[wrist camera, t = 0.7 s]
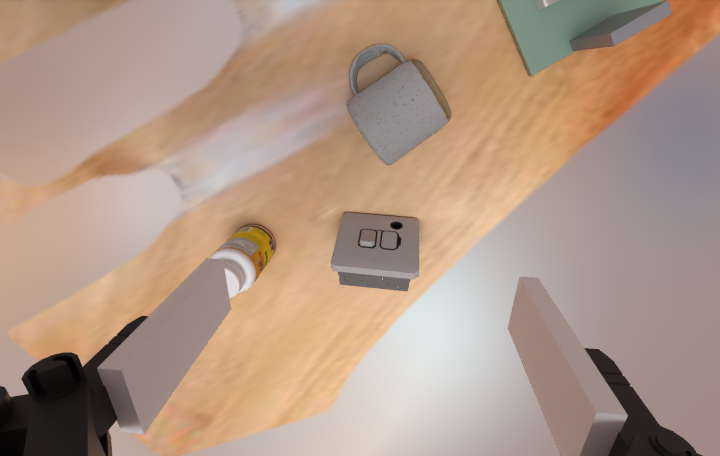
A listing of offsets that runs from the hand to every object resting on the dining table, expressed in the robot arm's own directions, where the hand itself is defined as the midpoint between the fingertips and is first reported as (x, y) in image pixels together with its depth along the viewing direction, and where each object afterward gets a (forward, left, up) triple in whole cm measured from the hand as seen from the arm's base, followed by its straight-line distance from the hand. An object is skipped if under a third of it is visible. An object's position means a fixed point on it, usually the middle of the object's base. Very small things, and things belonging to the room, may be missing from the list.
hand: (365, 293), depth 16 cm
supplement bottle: (+1, -21, -28) cm, 35 cm away
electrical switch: (+8, -6, -28) cm, 30 cm away
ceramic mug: (-5, +3, -28) cm, 29 cm away
